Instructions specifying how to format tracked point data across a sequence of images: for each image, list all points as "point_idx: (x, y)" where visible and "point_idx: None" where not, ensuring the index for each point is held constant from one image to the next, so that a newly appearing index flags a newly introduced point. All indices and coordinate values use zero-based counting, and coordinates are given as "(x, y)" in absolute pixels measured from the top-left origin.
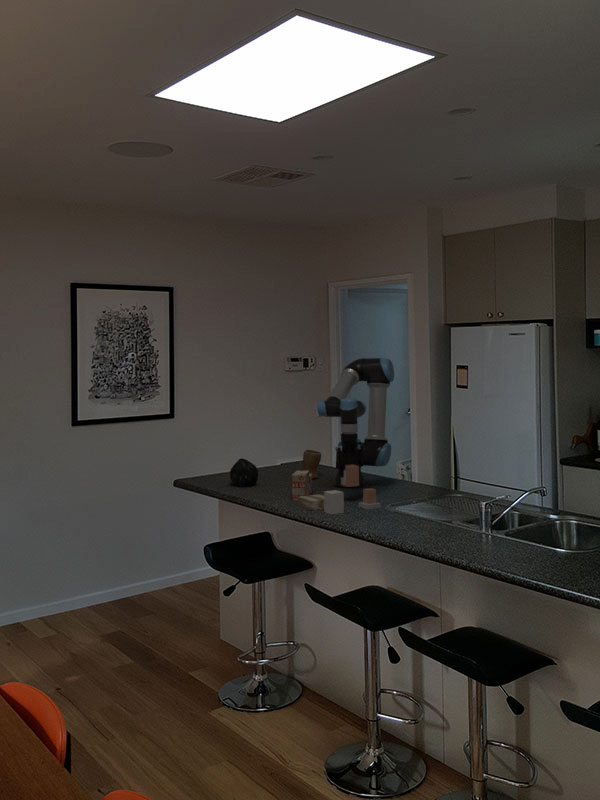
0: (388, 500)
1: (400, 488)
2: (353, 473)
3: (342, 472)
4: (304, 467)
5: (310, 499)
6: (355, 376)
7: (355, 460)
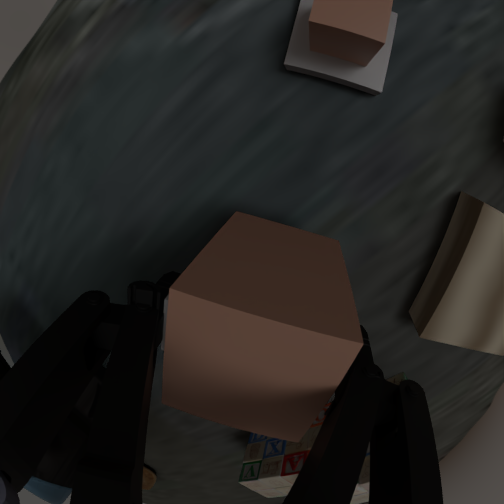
0: (131, 104)
1: (6, 246)
2: (276, 271)
3: (361, 353)
4: None
5: None
6: None
7: (145, 392)
